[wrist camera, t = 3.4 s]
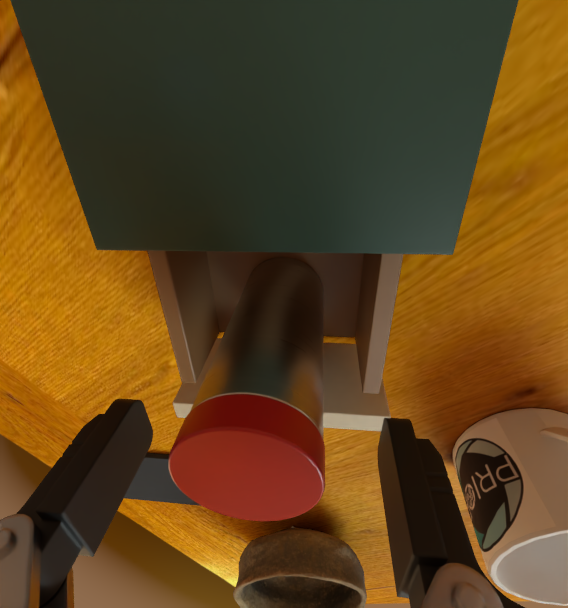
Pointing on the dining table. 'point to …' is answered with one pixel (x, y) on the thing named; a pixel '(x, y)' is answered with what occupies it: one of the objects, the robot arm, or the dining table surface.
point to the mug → (519, 499)
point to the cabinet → (270, 118)
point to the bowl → (299, 572)
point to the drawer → (336, 322)
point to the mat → (156, 482)
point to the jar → (261, 404)
